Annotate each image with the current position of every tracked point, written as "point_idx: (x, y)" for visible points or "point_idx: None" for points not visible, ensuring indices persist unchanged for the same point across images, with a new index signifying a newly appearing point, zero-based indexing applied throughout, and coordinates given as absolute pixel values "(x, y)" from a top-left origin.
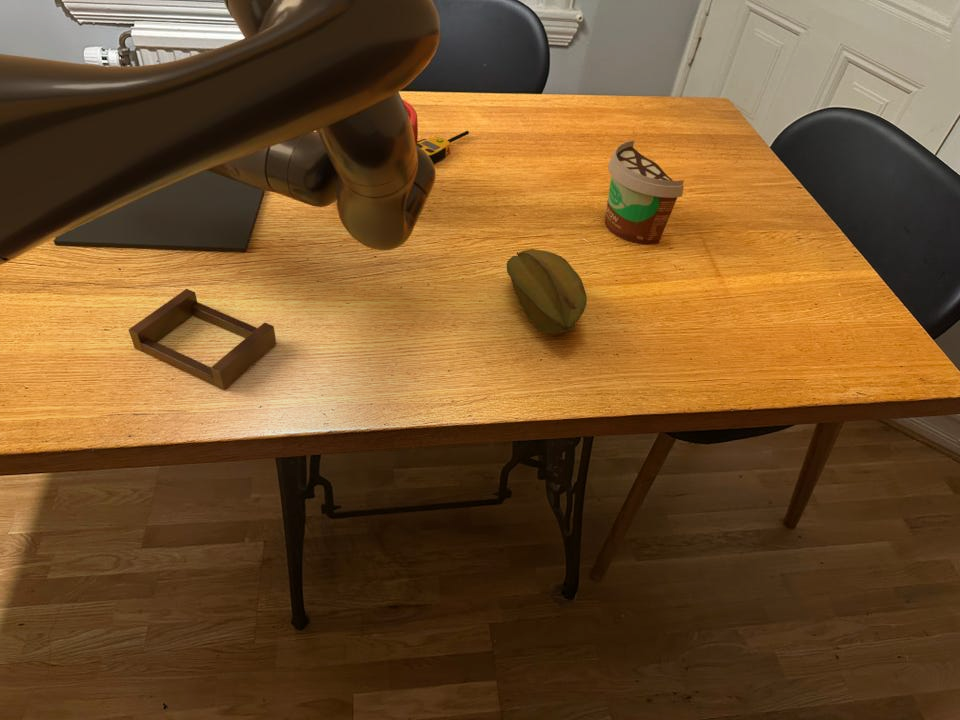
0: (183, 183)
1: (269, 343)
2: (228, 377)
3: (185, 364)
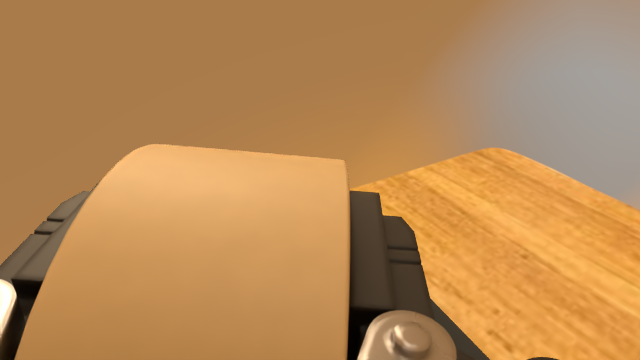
0: None
1: None
2: None
3: None
